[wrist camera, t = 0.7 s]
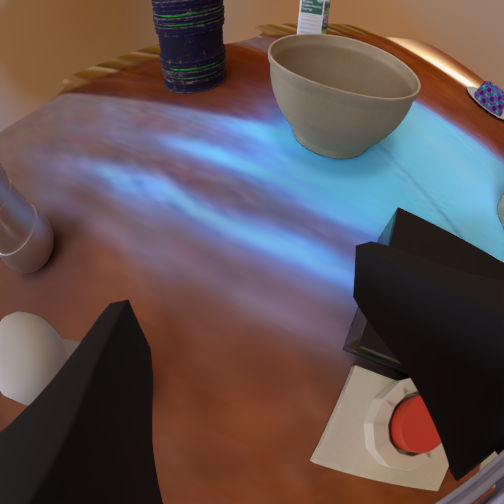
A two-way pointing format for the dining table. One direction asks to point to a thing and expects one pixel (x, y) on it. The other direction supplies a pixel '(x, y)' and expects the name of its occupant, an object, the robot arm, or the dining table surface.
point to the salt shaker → (30, 355)
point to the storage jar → (191, 43)
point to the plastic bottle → (22, 230)
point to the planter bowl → (339, 92)
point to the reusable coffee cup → (501, 210)
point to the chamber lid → (436, 250)
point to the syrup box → (313, 16)
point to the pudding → (489, 98)
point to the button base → (376, 435)
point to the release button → (414, 427)
